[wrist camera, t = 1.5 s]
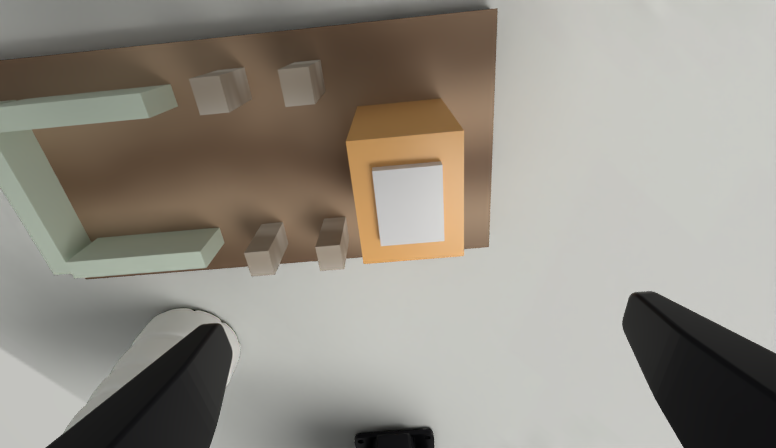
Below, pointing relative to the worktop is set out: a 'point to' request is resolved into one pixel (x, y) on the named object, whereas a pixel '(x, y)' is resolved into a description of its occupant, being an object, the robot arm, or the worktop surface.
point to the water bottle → (155, 351)
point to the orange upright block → (407, 180)
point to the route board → (261, 131)
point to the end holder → (51, 205)
